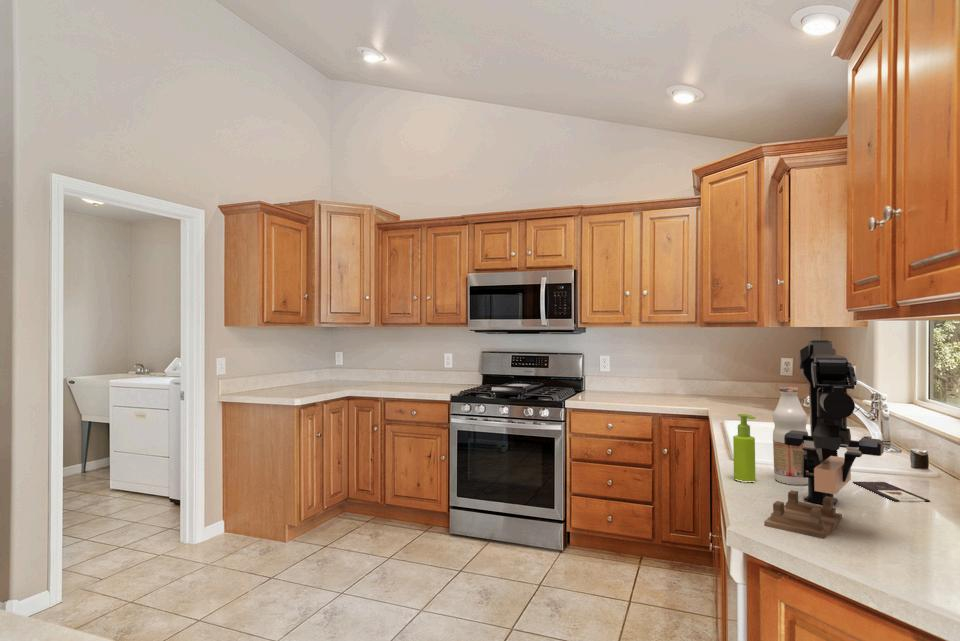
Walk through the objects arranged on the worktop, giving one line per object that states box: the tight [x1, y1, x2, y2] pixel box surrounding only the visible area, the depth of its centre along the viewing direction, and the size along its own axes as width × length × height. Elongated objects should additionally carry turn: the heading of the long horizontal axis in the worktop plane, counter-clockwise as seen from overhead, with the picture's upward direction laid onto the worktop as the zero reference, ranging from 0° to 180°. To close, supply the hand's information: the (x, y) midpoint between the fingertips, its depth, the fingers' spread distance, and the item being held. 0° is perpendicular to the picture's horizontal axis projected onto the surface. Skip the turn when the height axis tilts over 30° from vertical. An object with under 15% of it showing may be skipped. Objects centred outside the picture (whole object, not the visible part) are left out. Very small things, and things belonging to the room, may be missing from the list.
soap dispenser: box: [732, 413, 756, 482], centre depth 166 cm, size 6×7×20 cm
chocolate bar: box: [852, 481, 931, 503], centre depth 154 cm, size 9×1×18 cm
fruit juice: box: [772, 386, 808, 486], centre depth 165 cm, size 9×9×28 cm
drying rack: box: [763, 490, 843, 539], centre depth 130 cm, size 18×12×5 cm, turn 136°
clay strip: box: [814, 456, 852, 495], centre depth 127 cm, size 16×4×5 cm, turn 136°
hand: (832, 479), depth 127 cm, fingers closed on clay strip, 4 cm apart
